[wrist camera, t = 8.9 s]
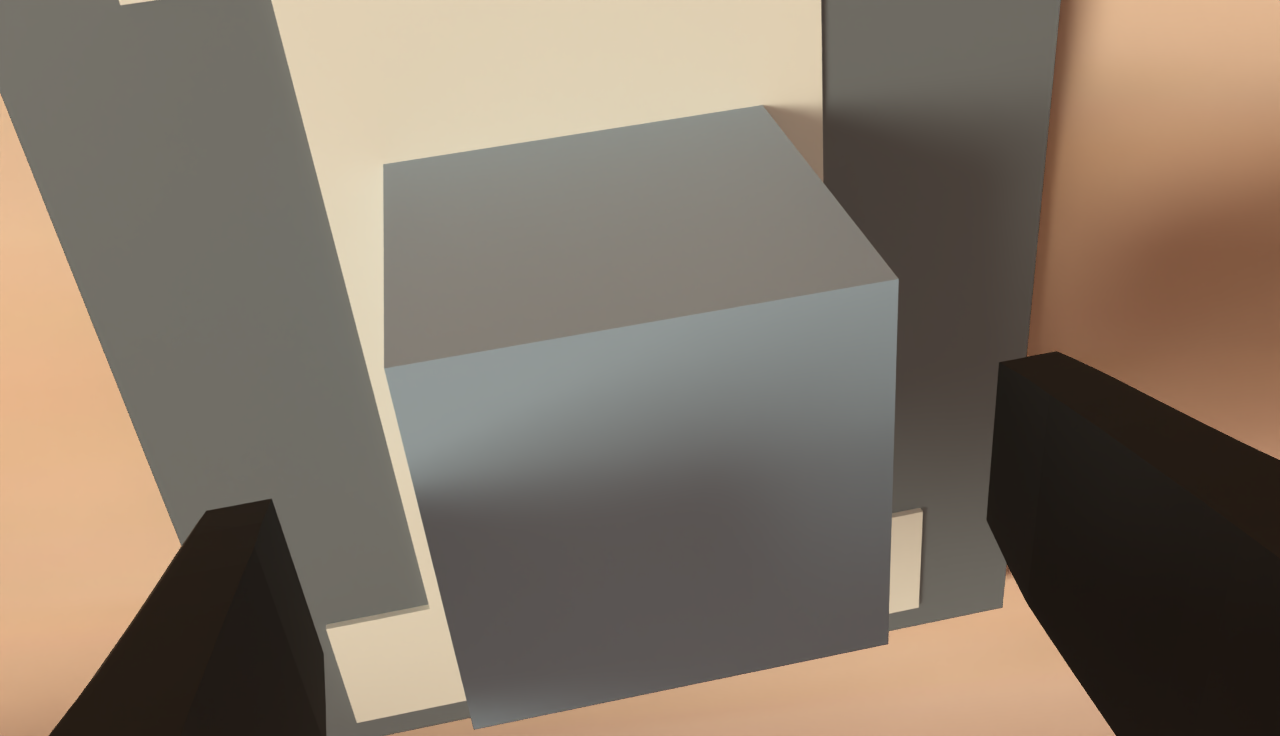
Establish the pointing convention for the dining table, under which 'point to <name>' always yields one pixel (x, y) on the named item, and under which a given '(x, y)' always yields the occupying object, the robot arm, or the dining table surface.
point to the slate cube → (641, 408)
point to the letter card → (476, 119)
